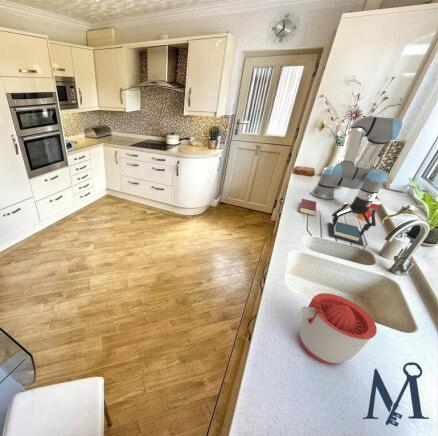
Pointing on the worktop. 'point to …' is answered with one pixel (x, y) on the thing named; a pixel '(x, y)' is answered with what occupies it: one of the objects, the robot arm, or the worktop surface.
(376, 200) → the paper cup
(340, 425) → the worktop surface
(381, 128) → the robot arm
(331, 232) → the rubber mat
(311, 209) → the burgundy notebook
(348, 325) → the citrus juicer
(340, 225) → the teal hardback
